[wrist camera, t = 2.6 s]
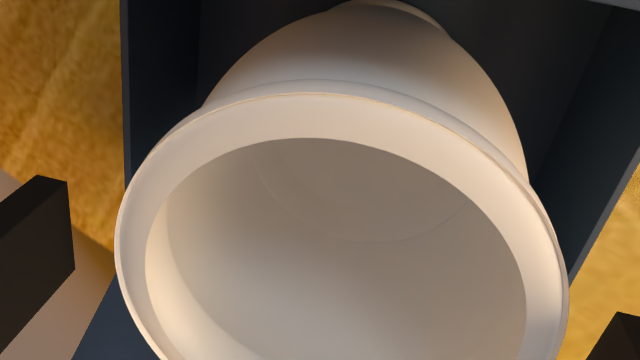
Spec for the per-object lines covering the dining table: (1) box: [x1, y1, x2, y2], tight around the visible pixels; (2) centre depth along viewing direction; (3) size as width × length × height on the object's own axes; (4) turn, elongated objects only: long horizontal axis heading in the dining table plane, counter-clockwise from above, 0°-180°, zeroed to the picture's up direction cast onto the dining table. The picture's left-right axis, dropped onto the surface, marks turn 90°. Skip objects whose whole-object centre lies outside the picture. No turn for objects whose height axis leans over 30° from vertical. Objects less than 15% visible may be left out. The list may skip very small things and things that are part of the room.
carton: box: [119, 0, 640, 287], centre depth 18 cm, size 18×16×15 cm
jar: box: [114, 0, 569, 360], centre depth 18 cm, size 11×10×15 cm
